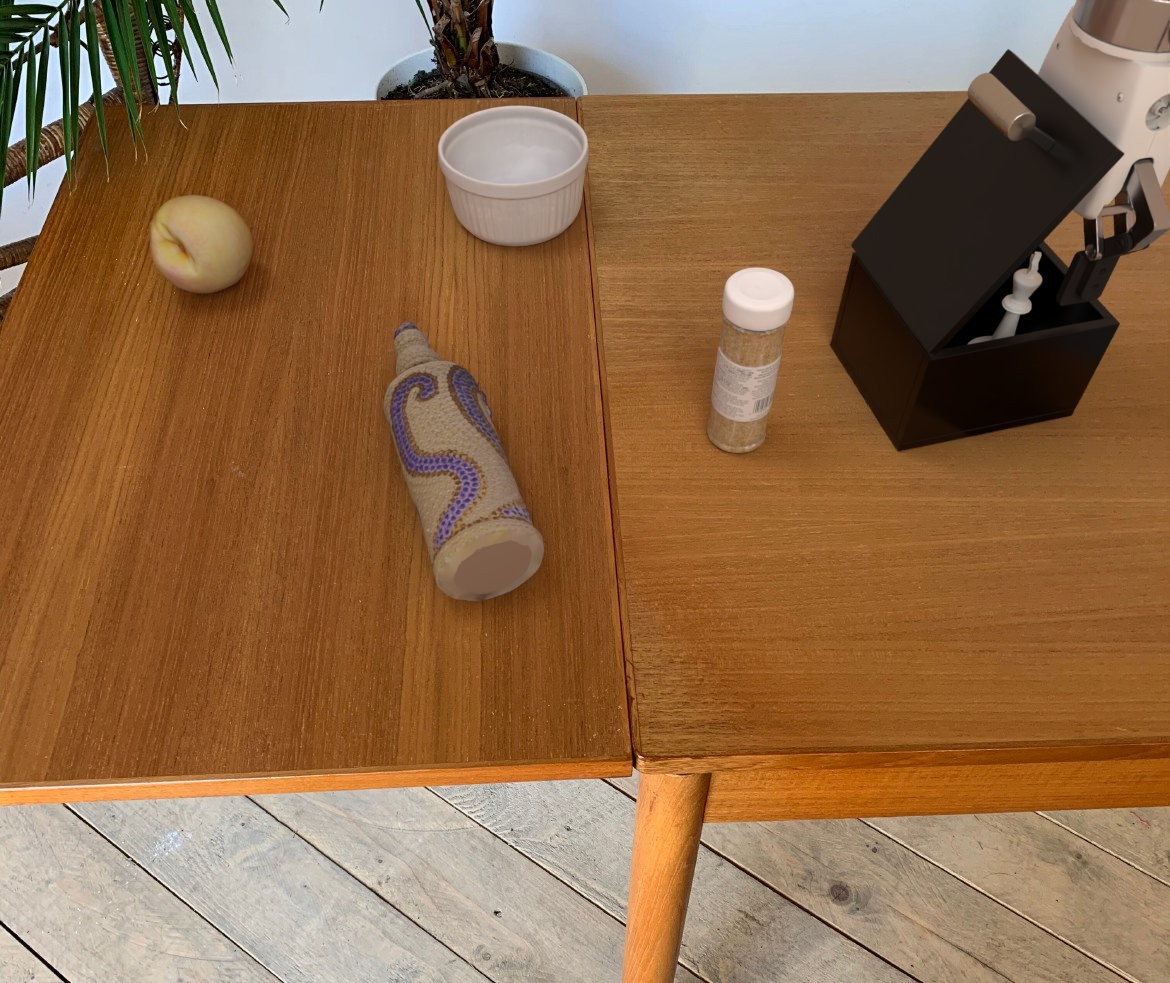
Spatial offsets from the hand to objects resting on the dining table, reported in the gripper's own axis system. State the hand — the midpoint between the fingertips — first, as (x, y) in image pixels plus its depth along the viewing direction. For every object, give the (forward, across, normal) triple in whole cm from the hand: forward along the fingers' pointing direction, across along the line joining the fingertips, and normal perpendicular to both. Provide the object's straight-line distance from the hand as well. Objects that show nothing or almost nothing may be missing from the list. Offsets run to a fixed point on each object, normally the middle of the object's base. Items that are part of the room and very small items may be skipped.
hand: (1039, 259), depth 72 cm
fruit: (+10, +27, +59) cm, 66 cm away
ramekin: (+10, +31, +32) cm, 46 cm away
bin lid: (-5, 0, +7) cm, 9 cm away
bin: (+10, 0, +4) cm, 11 cm away
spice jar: (+10, -1, +22) cm, 25 cm away
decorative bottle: (+10, 0, +43) cm, 44 cm away
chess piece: (+10, 0, 0) cm, 10 cm away
